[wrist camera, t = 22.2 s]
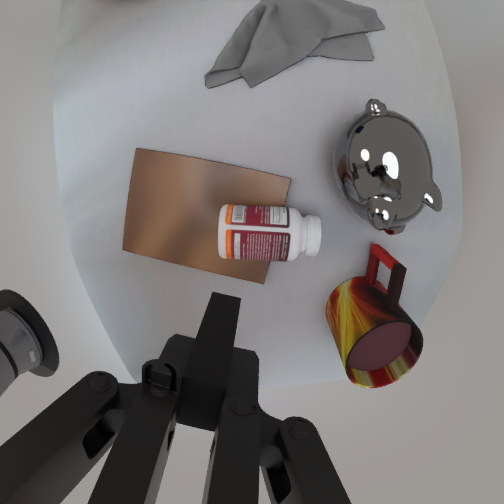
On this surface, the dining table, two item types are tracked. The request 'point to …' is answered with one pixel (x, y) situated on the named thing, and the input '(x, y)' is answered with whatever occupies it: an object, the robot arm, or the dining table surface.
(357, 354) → the mug
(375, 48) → the dining table surface
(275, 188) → the cork mat
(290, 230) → the pill bottle
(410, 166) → the piggy bank
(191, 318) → the dining table surface
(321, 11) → the cloth
